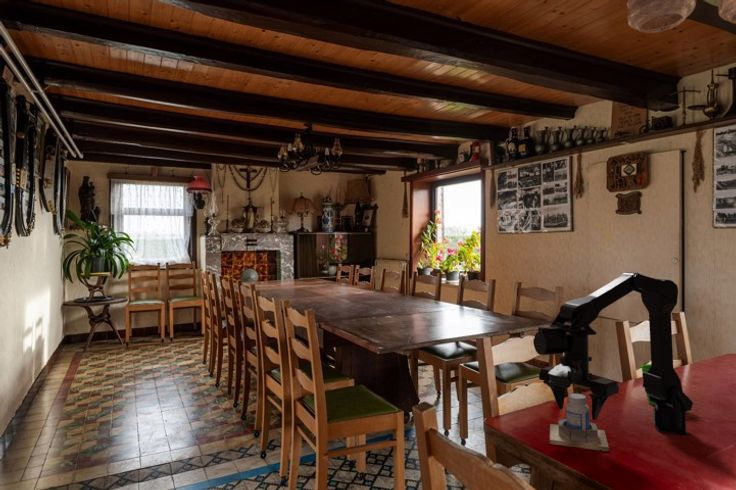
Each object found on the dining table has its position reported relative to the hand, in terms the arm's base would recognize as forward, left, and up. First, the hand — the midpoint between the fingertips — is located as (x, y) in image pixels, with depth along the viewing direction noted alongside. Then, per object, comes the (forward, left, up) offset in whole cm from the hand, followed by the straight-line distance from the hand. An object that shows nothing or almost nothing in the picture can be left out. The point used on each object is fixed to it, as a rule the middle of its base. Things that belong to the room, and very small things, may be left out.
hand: (577, 414), depth 118 cm
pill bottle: (0, 0, -5) cm, 5 cm away
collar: (0, 0, -6) cm, 6 cm away
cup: (-24, -37, -6) cm, 45 cm away
